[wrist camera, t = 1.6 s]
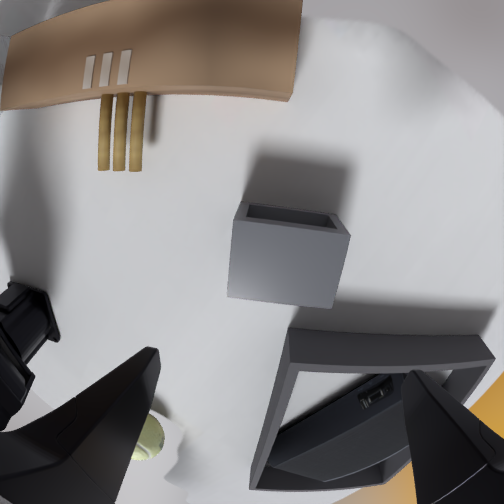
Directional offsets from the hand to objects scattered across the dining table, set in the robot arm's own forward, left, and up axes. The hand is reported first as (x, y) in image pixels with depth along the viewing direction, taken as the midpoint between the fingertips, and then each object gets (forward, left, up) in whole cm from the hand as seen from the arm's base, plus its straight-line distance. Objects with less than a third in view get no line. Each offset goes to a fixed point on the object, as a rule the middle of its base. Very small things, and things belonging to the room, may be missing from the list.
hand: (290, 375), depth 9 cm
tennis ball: (-25, +13, -12) cm, 31 cm away
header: (+10, +11, -12) cm, 19 cm away
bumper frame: (-21, -12, -12) cm, 27 cm away
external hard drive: (-21, -12, -12) cm, 27 cm away
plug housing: (0, 0, -12) cm, 12 cm away
